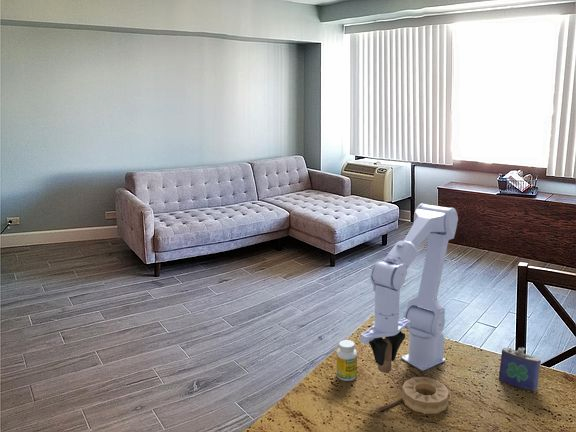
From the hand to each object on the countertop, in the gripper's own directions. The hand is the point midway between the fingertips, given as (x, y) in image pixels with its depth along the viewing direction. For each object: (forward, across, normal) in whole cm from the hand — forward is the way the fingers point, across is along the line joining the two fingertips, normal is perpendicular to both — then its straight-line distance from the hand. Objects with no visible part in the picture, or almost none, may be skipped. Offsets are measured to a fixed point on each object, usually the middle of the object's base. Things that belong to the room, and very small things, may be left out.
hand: (385, 361), depth 123 cm
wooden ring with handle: (+9, -3, +8) cm, 12 cm away
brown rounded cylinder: (+2, 0, 0) cm, 2 cm away
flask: (+9, -30, +16) cm, 36 cm away
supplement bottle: (+9, +3, -11) cm, 15 cm away
